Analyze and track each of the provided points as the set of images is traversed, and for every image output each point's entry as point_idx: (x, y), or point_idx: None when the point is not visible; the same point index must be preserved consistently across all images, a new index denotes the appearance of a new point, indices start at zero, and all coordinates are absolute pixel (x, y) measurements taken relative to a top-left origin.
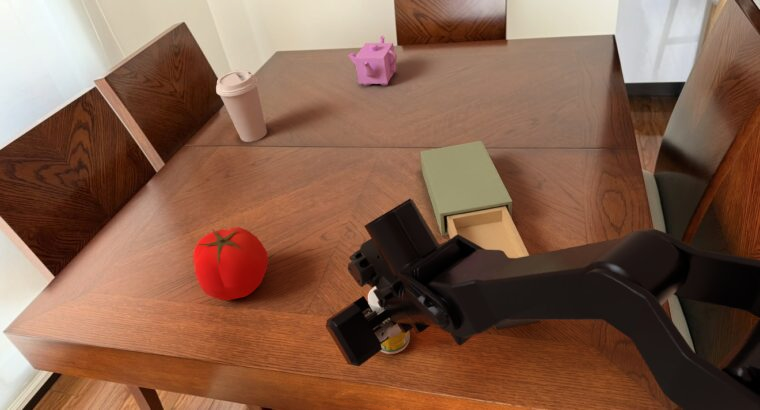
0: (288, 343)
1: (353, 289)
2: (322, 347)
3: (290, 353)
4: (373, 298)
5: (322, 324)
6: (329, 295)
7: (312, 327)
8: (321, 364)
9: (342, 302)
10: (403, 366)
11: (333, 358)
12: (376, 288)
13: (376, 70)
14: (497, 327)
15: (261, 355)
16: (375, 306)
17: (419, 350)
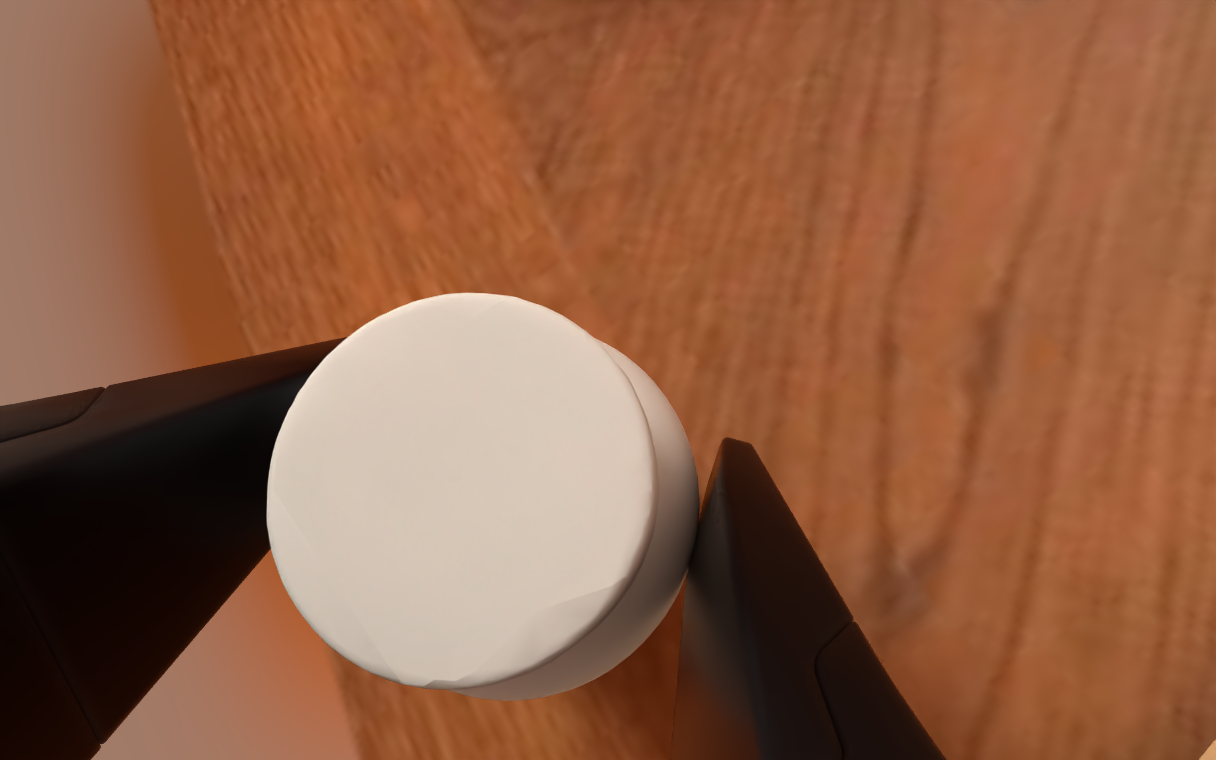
0: (309, 103)
1: (730, 142)
2: (360, 242)
3: (270, 145)
4: (363, 403)
5: (468, 157)
6: (629, 72)
7: (431, 131)
8: (279, 299)
9: (629, 150)
10: None
11: (331, 326)
12: (518, 337)
13: None
14: None
15: (210, 55)
16: (269, 501)
17: (590, 710)
